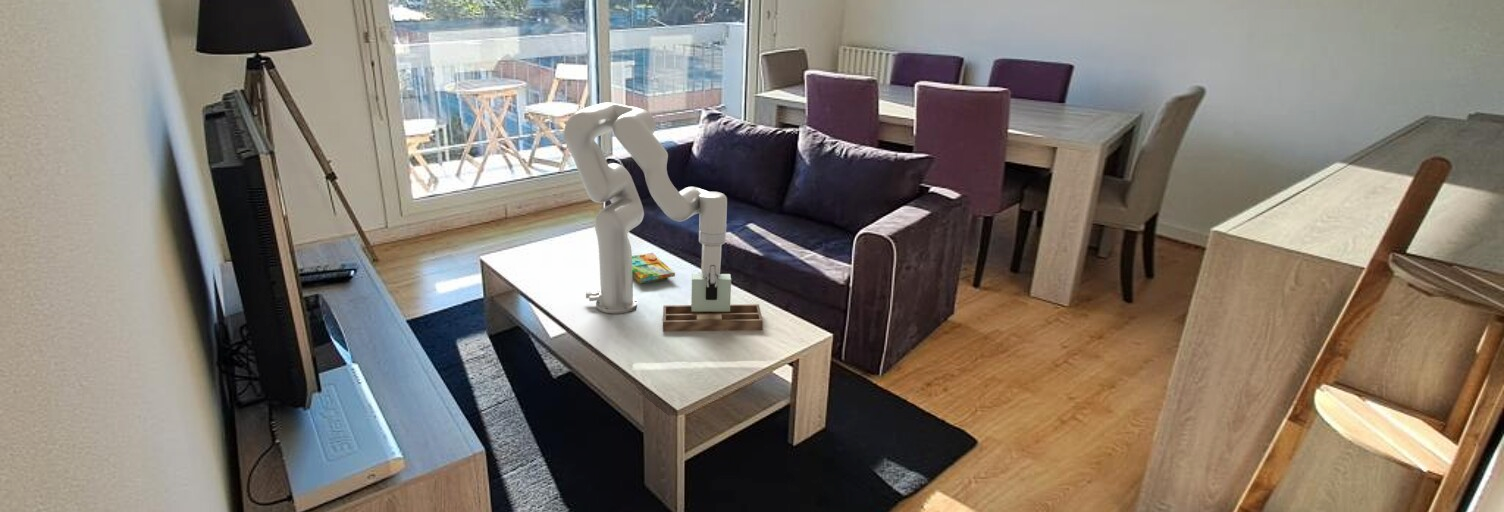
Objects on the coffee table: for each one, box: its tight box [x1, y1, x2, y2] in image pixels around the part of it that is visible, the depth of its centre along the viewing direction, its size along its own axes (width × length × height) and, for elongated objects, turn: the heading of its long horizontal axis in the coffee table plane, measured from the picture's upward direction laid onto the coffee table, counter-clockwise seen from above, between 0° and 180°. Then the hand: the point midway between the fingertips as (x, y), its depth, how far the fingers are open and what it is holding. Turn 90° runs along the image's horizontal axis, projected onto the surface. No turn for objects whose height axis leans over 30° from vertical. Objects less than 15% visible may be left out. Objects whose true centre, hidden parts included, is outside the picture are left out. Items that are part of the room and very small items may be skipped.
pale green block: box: [690, 273, 732, 311], centre depth 224 cm, size 11×4×10 cm, turn 96°
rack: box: [662, 303, 764, 333], centre depth 225 cm, size 28×11×4 cm, turn 95°
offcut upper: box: [697, 314, 722, 320], centre depth 221 cm, size 7×3×2 cm, turn 95°
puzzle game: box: [632, 252, 676, 284], centre depth 259 cm, size 12×5×20 cm
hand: (710, 295), depth 224 cm, fingers closed on pale green block, 4 cm apart
